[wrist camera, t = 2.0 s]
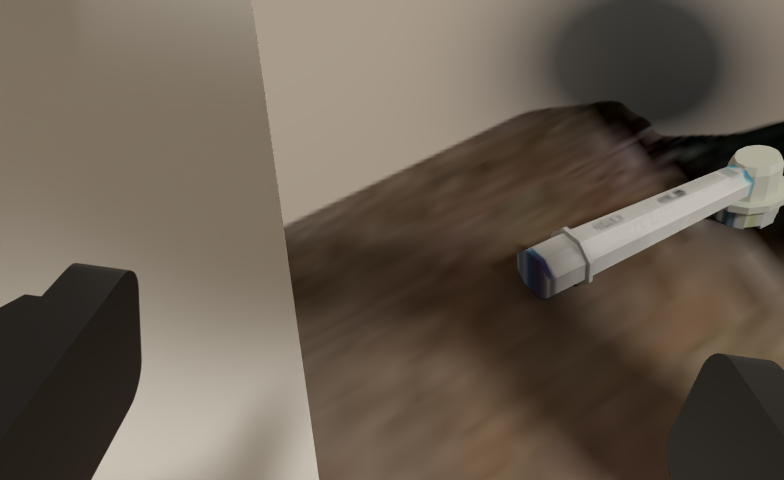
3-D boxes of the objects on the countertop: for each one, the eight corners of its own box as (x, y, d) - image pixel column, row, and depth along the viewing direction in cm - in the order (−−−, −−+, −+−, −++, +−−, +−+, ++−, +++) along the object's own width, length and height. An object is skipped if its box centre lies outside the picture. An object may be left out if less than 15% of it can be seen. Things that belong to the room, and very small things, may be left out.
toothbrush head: (510, 233, 47) (761, 119, 54) (512, 298, 51) (744, 184, 58) (555, 273, 43) (819, 145, 50) (553, 340, 47) (797, 213, 54)
